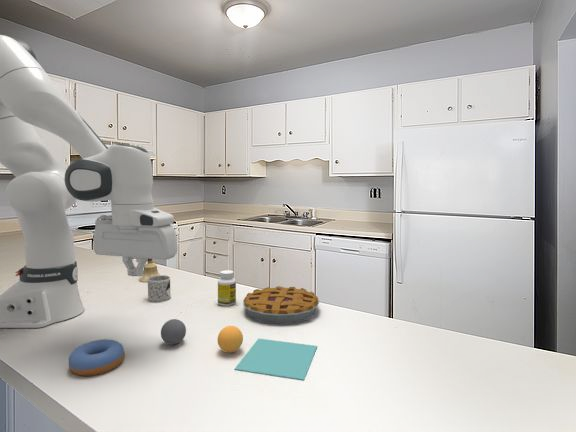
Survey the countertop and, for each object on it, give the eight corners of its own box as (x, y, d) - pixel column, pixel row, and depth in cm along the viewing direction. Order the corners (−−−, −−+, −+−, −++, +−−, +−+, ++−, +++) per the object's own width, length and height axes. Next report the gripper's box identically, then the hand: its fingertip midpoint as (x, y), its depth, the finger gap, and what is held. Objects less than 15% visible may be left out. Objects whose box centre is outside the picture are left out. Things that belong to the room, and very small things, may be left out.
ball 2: (217, 358, 74) (217, 333, 74) (217, 346, 80) (217, 322, 79) (244, 355, 75) (244, 330, 75) (242, 344, 81) (241, 320, 80)
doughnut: (58, 366, 70) (59, 345, 70) (107, 349, 79) (108, 330, 78) (83, 388, 65) (85, 364, 64) (133, 367, 73) (135, 346, 73)
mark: (234, 369, 70) (234, 368, 70) (258, 339, 83) (258, 338, 83) (303, 380, 66) (303, 379, 66) (317, 346, 80) (317, 345, 80)
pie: (248, 298, 113) (248, 282, 113) (317, 299, 113) (317, 284, 112) (236, 326, 92) (236, 307, 91) (321, 327, 91) (321, 308, 90)
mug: (172, 300, 110) (171, 279, 109) (149, 303, 107) (148, 282, 106) (167, 291, 119) (167, 272, 118) (146, 294, 116) (145, 274, 115)
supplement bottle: (232, 307, 104) (232, 274, 104) (215, 305, 106) (214, 273, 105) (238, 301, 110) (238, 270, 109) (222, 299, 111) (221, 269, 110)
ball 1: (159, 349, 78) (158, 325, 77) (162, 339, 83) (162, 316, 83) (185, 347, 79) (184, 323, 78) (187, 337, 84) (186, 314, 84)
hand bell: (157, 282, 129) (156, 239, 127) (134, 282, 129) (133, 239, 128) (165, 276, 137) (164, 235, 136) (144, 276, 137) (142, 235, 136)
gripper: (84, 215, 80) (87, 275, 82) (163, 219, 75) (165, 282, 76) (105, 213, 86) (108, 269, 88) (180, 216, 81) (181, 275, 82)
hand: (135, 275), depth 82 cm, fingers closed
